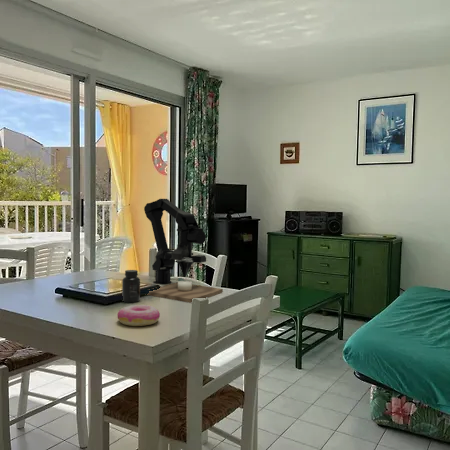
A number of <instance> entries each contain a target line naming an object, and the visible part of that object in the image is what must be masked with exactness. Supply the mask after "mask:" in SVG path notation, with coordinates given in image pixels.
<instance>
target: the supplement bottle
mask: <svg viewBox="0 0 450 450" xmlns="http://www.w3.org/2000/svg"><path fill="white" fill-rule="evenodd" d="M138 273H139V272H138V270H137V269H127V270H125V271H124V276H125V277H123V278H122V282H121V284H122V288H121V291H122V294H121V295H122V296H123V300H122V302H123V301H124V303H127V304H128V303H130V304H131V303H138V302H140V300H141V279H140V277H138Z"/></svg>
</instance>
